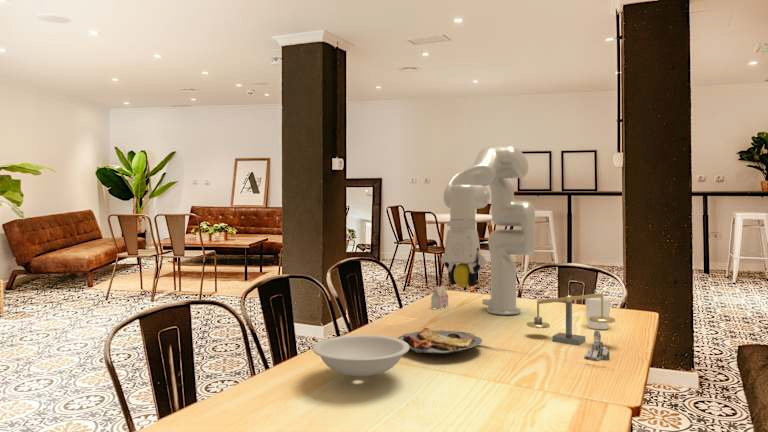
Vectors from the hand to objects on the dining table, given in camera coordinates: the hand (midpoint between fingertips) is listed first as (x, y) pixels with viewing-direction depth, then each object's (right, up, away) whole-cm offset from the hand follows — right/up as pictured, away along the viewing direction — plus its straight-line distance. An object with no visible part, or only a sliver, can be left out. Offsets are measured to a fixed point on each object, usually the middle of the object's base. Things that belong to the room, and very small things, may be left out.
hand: (462, 284), depth 160 cm
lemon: (0, -1, 0) cm, 1 cm away
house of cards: (+35, -18, -18) cm, 44 cm away
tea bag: (-2, -17, +50) cm, 53 cm away
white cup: (+49, -17, +21) cm, 56 cm away
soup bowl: (-30, -18, -28) cm, 45 cm away
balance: (+33, -17, +2) cm, 37 cm away
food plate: (-8, -18, -3) cm, 20 cm away
